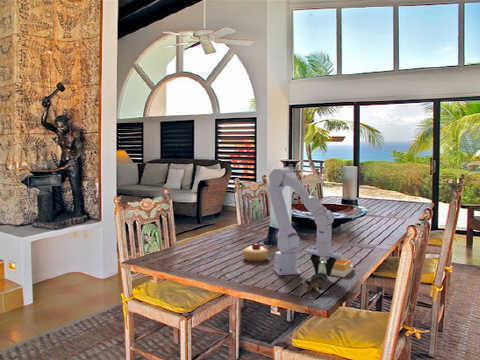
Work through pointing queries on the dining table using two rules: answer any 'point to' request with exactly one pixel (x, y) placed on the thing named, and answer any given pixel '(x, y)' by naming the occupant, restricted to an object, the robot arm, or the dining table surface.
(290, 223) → the robot arm
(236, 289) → the dining table surface
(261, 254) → the pastry
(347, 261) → the orange and cream box
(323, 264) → the green can
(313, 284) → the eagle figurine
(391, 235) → the dining table surface
